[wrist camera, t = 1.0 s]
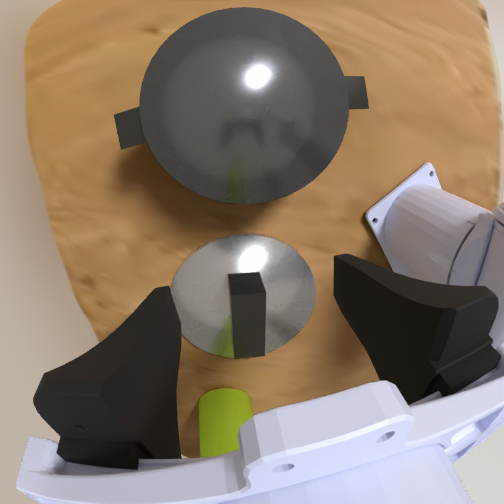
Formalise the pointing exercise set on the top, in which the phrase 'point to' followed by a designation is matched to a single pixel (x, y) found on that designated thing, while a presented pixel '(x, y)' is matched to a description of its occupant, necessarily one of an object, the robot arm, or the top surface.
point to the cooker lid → (243, 295)
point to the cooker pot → (243, 106)
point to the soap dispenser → (222, 420)
